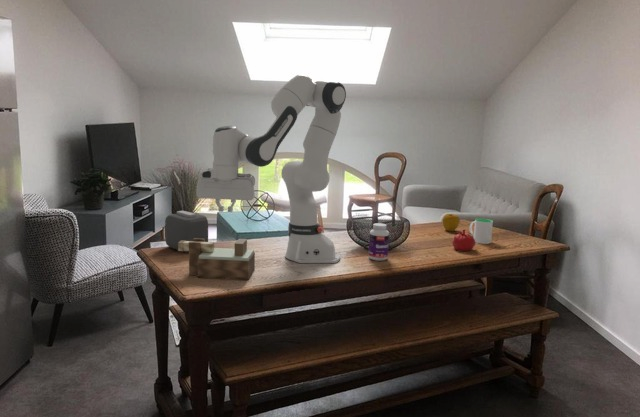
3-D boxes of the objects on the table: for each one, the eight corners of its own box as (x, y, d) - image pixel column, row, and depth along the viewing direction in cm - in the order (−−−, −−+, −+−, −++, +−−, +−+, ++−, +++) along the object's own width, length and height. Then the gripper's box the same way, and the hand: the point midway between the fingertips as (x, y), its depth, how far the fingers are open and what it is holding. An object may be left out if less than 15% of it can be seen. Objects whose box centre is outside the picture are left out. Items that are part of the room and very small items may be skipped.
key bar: (214, 249, 195) (214, 241, 195) (212, 252, 192) (212, 244, 191) (181, 248, 196) (181, 240, 195) (178, 250, 192) (178, 242, 192)
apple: (460, 229, 280) (461, 213, 278) (457, 233, 272) (458, 216, 271) (443, 228, 283) (444, 211, 282) (440, 231, 276) (441, 214, 274)
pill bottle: (375, 262, 216) (376, 227, 213) (364, 257, 223) (366, 223, 220) (391, 260, 220) (393, 225, 217) (380, 255, 227) (382, 221, 224)
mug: (463, 239, 260) (465, 218, 258) (473, 237, 265) (475, 216, 263) (483, 244, 251) (485, 222, 249) (494, 242, 255) (496, 221, 253)
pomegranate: (479, 251, 239) (481, 231, 237) (463, 253, 234) (465, 232, 232) (462, 245, 247) (464, 226, 246) (446, 247, 242) (448, 227, 240)
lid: (253, 254, 199) (253, 237, 198) (247, 263, 188) (247, 245, 186) (207, 252, 200) (207, 235, 199) (198, 261, 189) (198, 243, 187)
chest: (254, 270, 200) (254, 239, 198) (248, 280, 188) (248, 247, 186) (196, 267, 201) (196, 236, 199) (186, 277, 190) (186, 244, 187)
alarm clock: (208, 250, 225) (208, 214, 223) (185, 255, 217) (184, 217, 214) (185, 243, 236) (185, 208, 233) (163, 247, 228) (162, 211, 225)
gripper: (256, 172, 191) (256, 211, 193) (199, 170, 192) (200, 208, 194) (253, 175, 184) (253, 214, 187) (194, 172, 185) (195, 212, 188)
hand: (225, 211), depth 191 cm, fingers closed
